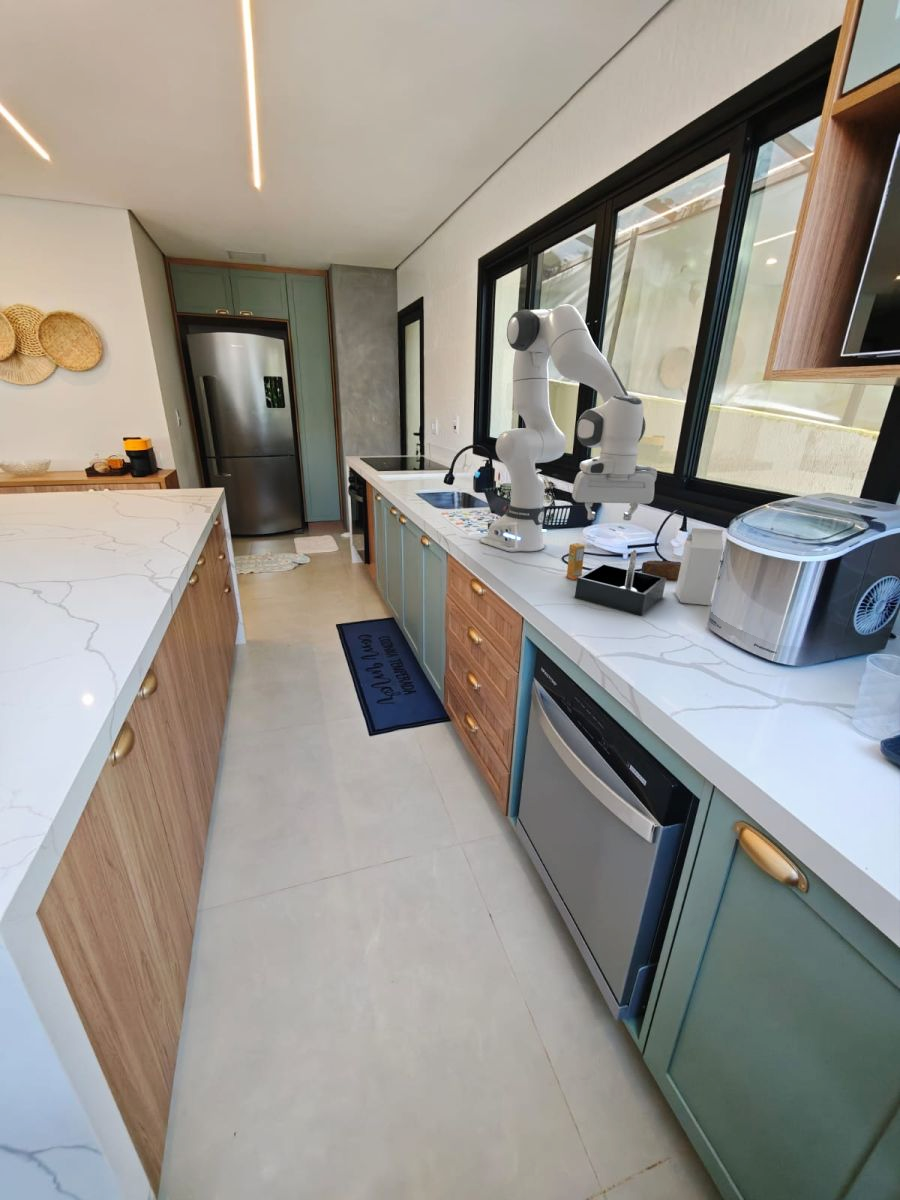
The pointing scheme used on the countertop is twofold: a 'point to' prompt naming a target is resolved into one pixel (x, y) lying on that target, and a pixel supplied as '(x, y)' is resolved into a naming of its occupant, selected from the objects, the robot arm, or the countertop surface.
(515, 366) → the robot arm
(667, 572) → the brick
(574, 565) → the supplement box
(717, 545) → the milk carton
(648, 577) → the grey storage bin
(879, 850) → the countertop surface
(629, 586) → the screw
